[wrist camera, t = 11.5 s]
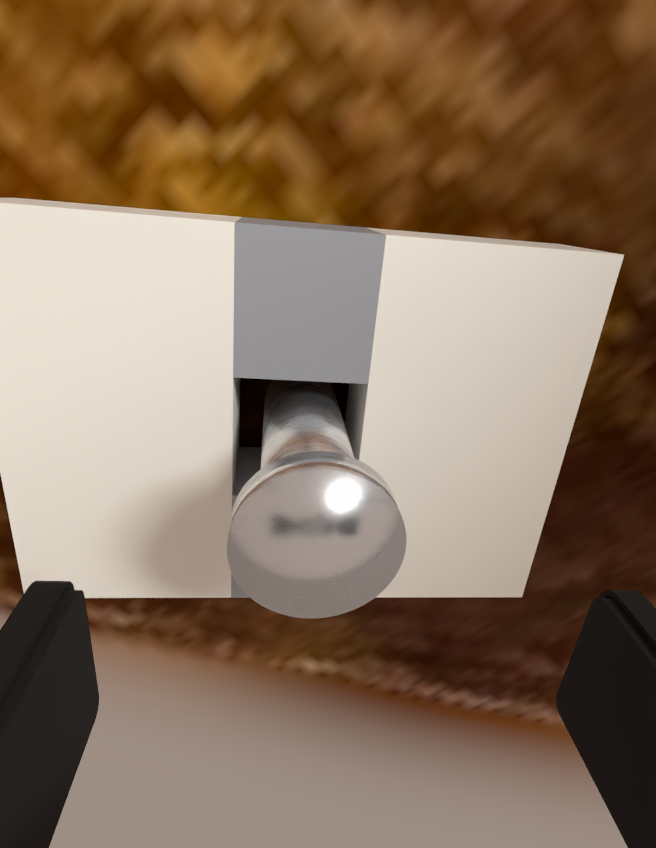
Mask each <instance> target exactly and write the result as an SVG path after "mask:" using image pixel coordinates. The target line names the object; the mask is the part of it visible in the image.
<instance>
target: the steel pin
mask: <svg viewBox="0 0 656 848" xmlns="http://www.w3.org/2000/svg"><path fill="white" fill-rule="evenodd" d="M406 542H407V540H406V529H405V525H404V521H403V519H402V516H401V514H400V511H399V509H398V506H397V503H396V501H395V498H394V496H393V493H392V491H391V489H390V488H389V486H388V484H387V483H386V482H385V480H384V479H383V478H382V477H381V476H380V475H379V474H378V473H377V472H376V471H375V470H374V469H373V468H371V467H370V466H368V465H367V464H365V463H364V462H362V461H360V460H358V459H356V458H354V455H353V452H352V448H351V445H350V442H349V438H348V435H347V432H346V428H345V425H344V422H343V418H342V415H341V412H340V408H339V405H338V402H337V398H336V395H335V392H334V389H333V386H332V385H331V383H330V382H315V381H294V380H272V381H271V382H270V384H269V385H268V387H267V390H266V393H265V399H264V417H263V435H262V453H261V470H259V471H258V472H257V473H256V474H255V475H254V476H252V477H251V478H250V479H249V480H248V482H247V483H246V484H245V485H244V486H243V488H242V489H241V491H240V493H239V494H238V496H237V498H236V500H235V503H234V505H233V509H232V513H231V518H230V525H229V532H228V539H227V559H228V563H229V567H230V570H231V572H232V575H233V577H234V579H235V580H236V582H237V584H238V585H239V586H240V588H241V589H242V590H243V591H244V592H245V593H246V594H247V595H248V596H249V597H250V598H251V599H252V600H254V601H255V602H257V603H258V604H260V605H261V606H263V607H265V608H267V609H269V610H271V611H274V612H276V613H279V614H283V615H287V616H291V617H297V618H325V617H331V616H336V615H340V614H344V613H347V612H349V611H352V610H355V609H357V608H359V607H361V606H363V605H365V604H366V603H368V602H369V601H371V600H372V599H374V598H375V597H376V596H378V595H379V594H380V593H381V592H382V591H383V590H384V589H385V588H386V587H387V586H388V585H389V584H390V583H391V581H392V580H393V579H394V578H395V576H396V574H397V572H398V571H399V569H400V567H401V564H402V562H403V559H404V555H405V551H406Z"/></svg>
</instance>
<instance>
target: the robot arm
mask: <svg viewBox="0 0 656 848" xmlns="http://www.w3.org/2000/svg"><path fill="white" fill-rule="evenodd" d="M556 701H557V708H558V711H559V714H560V716H561V718H562V720H563V722H564V724H565V726H566V728H567V730H568V732H569V734H570V736H571V738H572V740H573V742H574V744H575V745H576V747H577V749H578V751H579V753H580V755H581V757H582V759H583V761H584V763H585V765H586V767H587V769H588V771H589V773H590V775H591V777H592V778H593V780H594V782H595V784H596V786H597V788H598V790H599V792H600V794H601V796H602V798H603V800H604V802H605V804H606V805H607V808H608V809H609V811H610V813H611V815H612V817H613V819H614V821H615V823H616V825H617V827H618V829H619V831H620V833H621V835H622V837H623V839H624V841H625V843H626V844H627V846H628V848H656V609H655V607H654V606H653V605H652V604H651V603H650V602H649V601H648V599H647V598H646V597H645V596H644V595H643V594H641V593H640V592H638V591H630V590H605V591H604V592H602V593H601V595H600V596H599V598H596V599H594V601H593V602H592V604H591V607H590V610H589V612H588V615H587V617H586V620H585V622H584V625H583V628H582V630H581V633H580V635H579V638H578V641H577V643H576V646H575V648H574V651H573V654H572V656H571V659H570V661H569V664H568V666H567V669H566V672H565V674H564V677H563V679H562V682H561V685H560V687H559V690H558V692H557V699H556ZM98 704H99V693H98V686H97V680H96V672H95V665H94V659H93V652H92V646H91V638H90V631H89V624H88V617H87V610H86V603H85V596H84V592H83V591H82V590H75V589H74V586H73V584H72V582H70V581H34V582H33V583H32V584H31V585H30V586H29V587H28V589H27V590H26V592H25V593H24V595H23V596H22V598H21V599H20V601H19V602H18V604H17V605H16V607H15V609H14V610H13V612H12V613H11V615H10V616H9V618H8V619H7V621H6V622H5V624H4V625H3V627H2V628H1V630H0V848H49V845H50V842H51V840H52V836H53V834H54V831H55V829H56V826H57V823H58V820H59V818H60V815H61V812H62V809H63V807H64V804H65V801H66V798H67V796H68V793H69V790H70V787H71V784H72V782H73V779H74V776H75V774H76V771H77V768H78V765H79V763H80V760H81V757H82V754H83V752H84V749H85V746H86V744H87V741H88V738H89V735H90V732H91V730H92V727H93V724H94V722H95V719H96V715H97V711H98Z"/></svg>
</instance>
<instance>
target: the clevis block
mask: <svg viewBox="0 0 656 848" xmlns="http://www.w3.org/2000/svg"><path fill="white" fill-rule="evenodd" d="M623 257H624V255H622V254H616V253H611V252H605V251H599V250H593V249H587V248H581V247H575V246H569V245H563V244H553V243H542V242H530V241H518V240H506V239H494V238H483V237H471V236H459V235H447V234H436V233H424V232H412V231H400V230H388V229H377V228H365V227H353V226H341V225H330V224H318V223H306V222H294V221H282V220H271V219H259V218H247V217H235V216H224V215H212V214H200V213H188V212H177V211H165V210H153V209H141V208H129V207H118V206H106V205H94V204H82V203H71V202H59V201H47V200H35V199H23V198H0V474H1V479H2V484H3V490H4V495H5V500H6V505H7V510H8V515H9V520H10V525H11V530H12V535H13V541H14V546H15V551H16V556H17V561H18V566H19V571H20V576H21V581H22V587H23V592H24V593H25V592H26V590H27V589H28V587H29V586H30V585H31V584H32V583H33V582H34V581H70V582H72V584H73V586H74V589H75V590H82V591H83V592H84V596H85V598H250V597H249V596H248V595H247V594H246V593H245V592H244V591H243V590H242V589H241V588H240V586H239V585H238V584H237V582H236V580H235V579H234V577H233V575H232V572H231V570H230V567H229V563H228V559H227V539H228V532H229V525H230V518H231V513H232V509H233V505H234V503H235V500H236V498H237V496H238V494H239V493H240V491H241V489H242V488H243V486H244V485H245V484H246V483H247V482H248V480H249V479H250V478H251V477H252V476H254V475H255V474H256V473H257V472H258V471H259V470H261V453H262V447H239V426H240V378H253V379H273V380H294V381H315V382H335V383H349V387H348V396H347V406H346V416H345V428H346V432H347V435H348V438H349V442H350V445H351V448H352V452H353V455H354V458H356V459H358V460H360V461H362V462H364V463H365V464H367V465H368V466H370V467H371V468H373V469H374V470H375V471H376V472H377V473H378V474H379V475H380V476H381V477H382V478H383V479H384V480H385V482H386V483H387V484H388V486H389V488H390V489H391V491H392V493H393V496H394V498H395V501H396V503H397V506H398V509H399V511H400V514H401V516H402V519H403V521H404V525H405V529H406V540H407V542H406V551H405V555H404V559H403V562H402V564H401V567H400V569H399V571H398V572H397V574H396V576H395V578H394V579H393V580H392V581H391V583H390V584H389V585H388V586H387V587H386V588H385V589H384V590H383V591H382V592H381V593H380V594H379V595H378V596H376V597H522V595H523V592H524V589H525V585H526V582H527V579H528V575H529V572H530V569H531V565H532V562H533V559H534V555H535V552H536V549H537V545H538V542H539V538H540V535H541V532H542V528H543V525H544V522H545V518H546V515H547V512H548V508H549V505H550V502H551V498H552V495H553V492H554V488H555V485H556V482H557V478H558V475H559V472H560V468H561V465H562V462H563V458H564V455H565V452H566V448H567V445H568V441H569V438H570V435H571V431H572V428H573V425H574V421H575V418H576V415H577V411H578V408H579V405H580V401H581V398H582V395H583V391H584V388H585V385H586V381H587V378H588V375H589V371H590V368H591V365H592V361H593V358H594V354H595V351H596V348H597V344H598V341H599V338H600V334H601V331H602V328H603V324H604V321H605V318H606V314H607V311H608V308H609V304H610V301H611V298H612V294H613V291H614V288H615V284H616V281H617V278H618V274H619V271H620V267H621V264H622V261H623Z"/></svg>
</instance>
